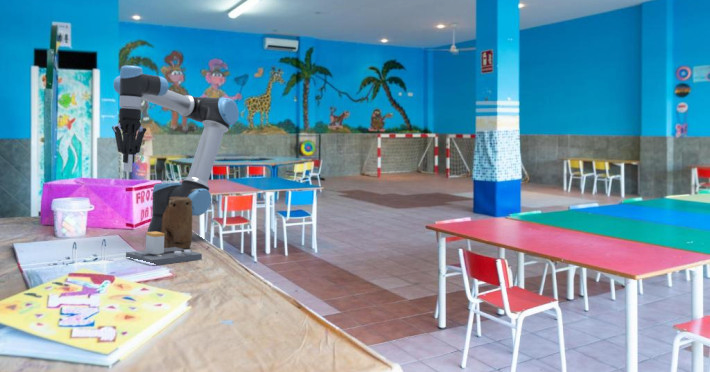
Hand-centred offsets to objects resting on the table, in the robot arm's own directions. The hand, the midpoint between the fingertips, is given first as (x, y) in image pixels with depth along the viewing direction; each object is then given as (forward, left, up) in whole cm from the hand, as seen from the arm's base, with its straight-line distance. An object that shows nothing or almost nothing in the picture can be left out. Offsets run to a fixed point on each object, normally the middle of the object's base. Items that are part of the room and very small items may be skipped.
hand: (128, 171), depth 219 cm
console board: (-2, +23, -29) cm, 37 cm away
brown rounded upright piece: (-17, +8, -29) cm, 35 cm away
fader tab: (+2, +23, -27) cm, 35 cm away
